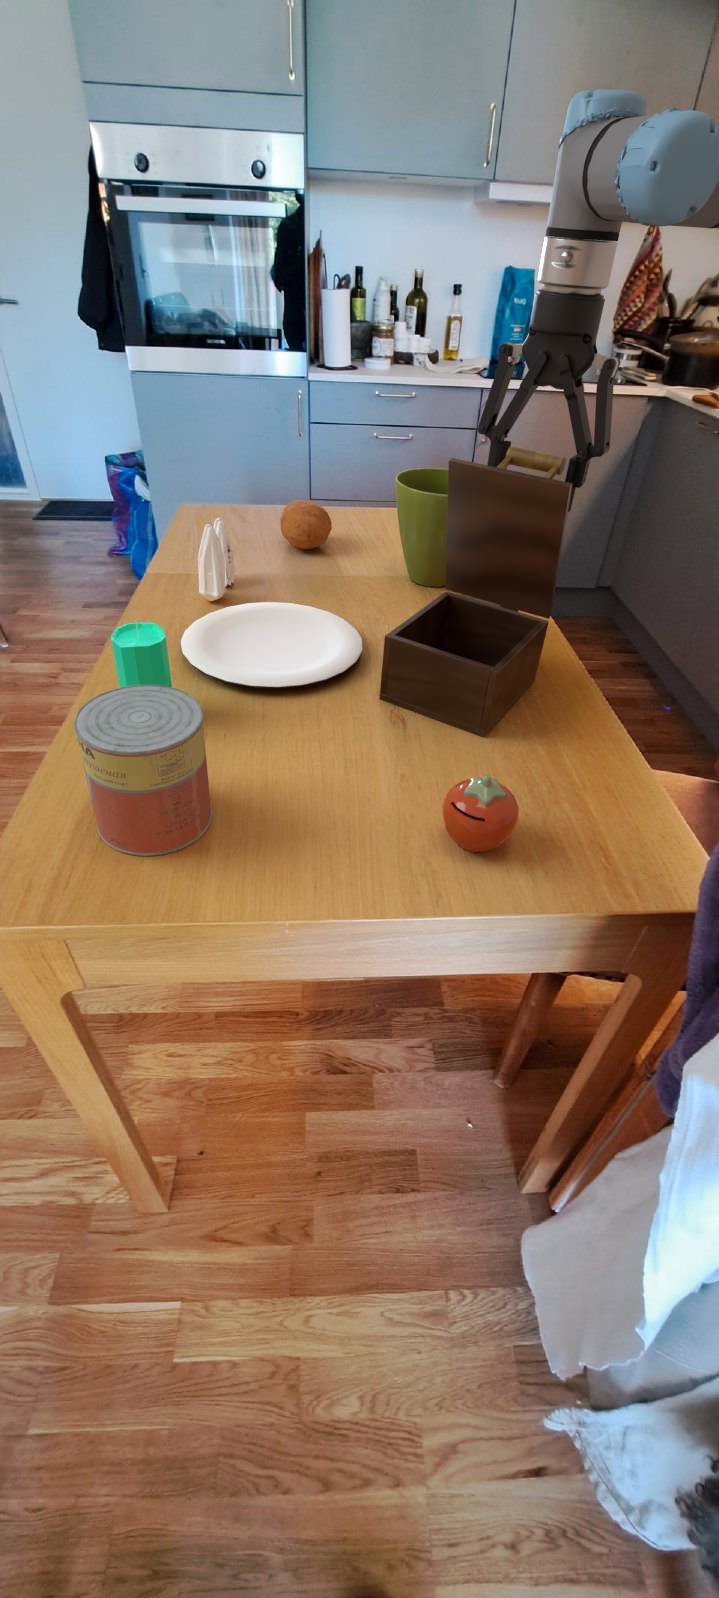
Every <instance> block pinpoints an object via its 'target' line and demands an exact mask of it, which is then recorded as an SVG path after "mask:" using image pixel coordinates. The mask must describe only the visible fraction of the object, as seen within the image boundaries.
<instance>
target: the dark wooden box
mask: <svg viewBox="0 0 719 1598" xmlns="http://www.w3.org/2000/svg"><path fill="white" fill-rule="evenodd" d="M549 622H550V621H549V620H548V619H545V618H543V619H542V618H540V617H538V616H535V615H531V614H528V613H524V612H521V611H519V612H516V611H513V610H509V609H506V608H502V607H499V606H495V605H492V604H489V603H485V602H482V601H478V600H475V599H471V598H468V597H464V596H461V595H457V593H455V592H452V591H448V590H445V591H444V592H443V593H441V594H440V595H438V596H437V597H436V598H435V599H433V600H432V601H431V602H429V603H428V604H426V605H425V606H423V607H422V608H421V609H420V610H418V611H417V612H415V613H414V614H412V615H411V616H410V617H408V618H407V619H406V620H404V621H403V622H402V623H400V624H399V625H397V626H396V627H395V628H393V629H392V630H390V631H389V632H388V633H386V634H385V635H384V640H383V652H382V662H381V663H382V664H381V675H380V687H379V700H382V701H384V702H385V703H389V704H392V705H394V706H397V707H400V708H403V709H406V710H408V711H412V712H414V713H415V714H416V713H417V714H419V715H422V716H425V717H428V718H430V719H433V720H436V721H438V722H441V723H444V724H446V725H450V726H452V727H455V728H458V729H460V730H463V731H466V732H469V733H471V734H474V735H477V736H479V737H483V738H486V737H487V736H488V735H489V733H491V731H492V730H493V729H494V728H495V727H496V726H497V725H498V724H499V722H500V721H501V720H502V719H503V718H504V717H505V715H506V714H508V712H509V711H510V710H511V709H512V708H513V707H514V705H515V704H516V703H517V702H518V701H520V699H521V697H522V696H523V695H524V694H525V693H526V692H527V691H528V690H529V689H530V688H531V687H532V685H533V684H534V683H535V682H536V679H537V675H538V674H537V673H538V669H539V666H540V661H541V656H542V652H543V648H544V643H545V639H546V635H547V632H548V627H549Z"/></svg>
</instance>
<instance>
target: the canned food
mask: <svg viewBox="0 0 719 1598" xmlns="http://www.w3.org/2000/svg"><path fill="white" fill-rule="evenodd" d="M73 729H74V731H75V732H74V733H75V735H76V737H77V741H78V746H79V750H80V754H81V760H82V764H83V768H84V773H85V778H86V782H87V787H88V791H89V796H90V799H91V805H92V808H93V813H94V818H95V824H96V825H95V828H96V831H97V834H98V835H99V837H100V839H101V840H102V841H103V843H105V844H106V845H107V846H109V847H110V848H112V849H114V850H116V851H118V852H120V853H123V854H128V855H132V856H141V857H152V856H161V855H166V854H171V853H174V852H177V851H179V850H182V849H184V848H187V847H188V846H189V845H192V844H193V843H195V842H196V841H198V839H200V838H201V837H202V836H203V835H204V834H205V833H206V831H207V830H208V829H209V827H210V825H211V822H212V819H213V807H212V805H211V794H210V783H209V772H208V771H209V770H208V763H207V762H208V761H207V749H206V740H205V730H204V729H205V728H204V709H203V706H202V705H201V703H200V702H199V700H197V698H196V697H194V696H193V695H191V694H189V693H188V692H186V691H184V690H182V689H179V688H175V687H173V686H172V687H167V686H161V685H134V686H127V687H121V688H120V687H118V688H114V689H110V690H108V691H105V692H103V693H100V694H98V695H96V696H94V697H93V698H91V699H89V700H88V701H86V702H85V703H84V704H83V705H82V706H81V707H80V708H79V709H78V711H77V712H76V714H75V716H74V718H73Z"/></svg>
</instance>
